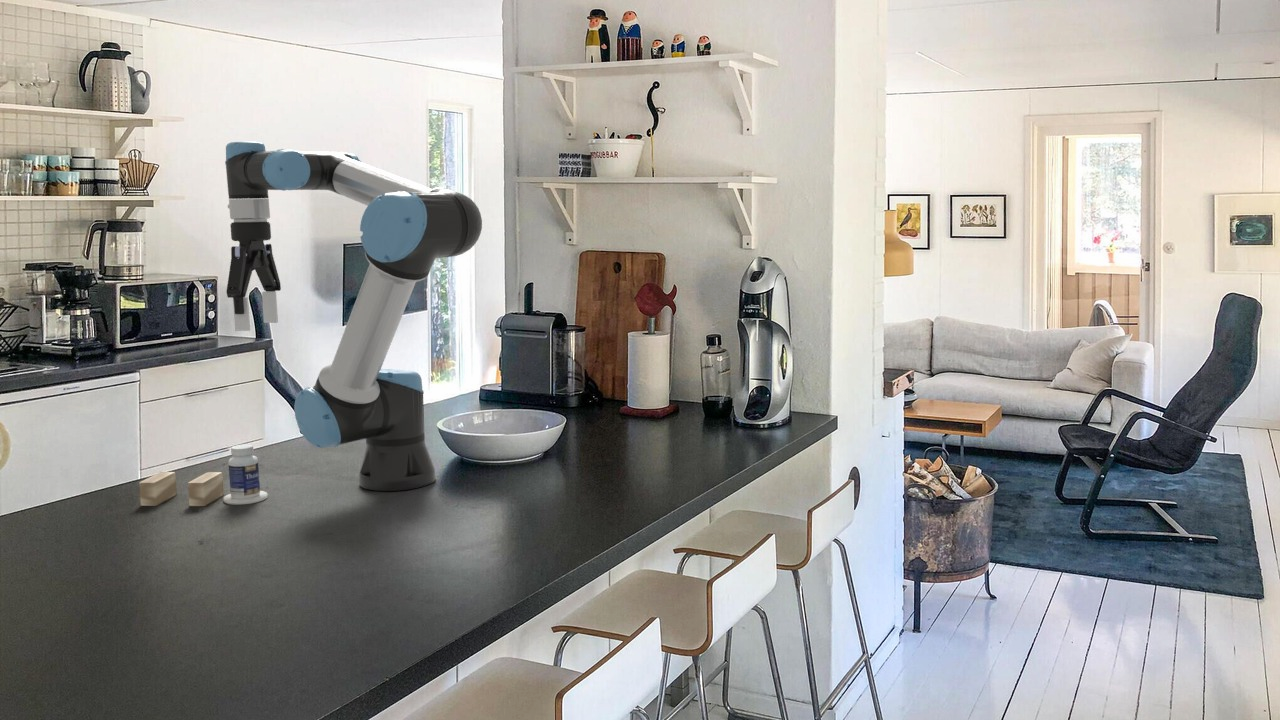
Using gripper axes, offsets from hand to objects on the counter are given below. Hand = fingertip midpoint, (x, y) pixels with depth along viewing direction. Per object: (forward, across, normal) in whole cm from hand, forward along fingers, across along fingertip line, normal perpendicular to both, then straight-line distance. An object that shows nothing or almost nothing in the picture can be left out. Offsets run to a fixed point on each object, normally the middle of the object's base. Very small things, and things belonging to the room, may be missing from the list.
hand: (257, 326), depth 218 cm
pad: (+32, +15, +2) cm, 35 cm away
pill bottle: (+31, +15, +2) cm, 35 cm away
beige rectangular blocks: (+32, +16, -10) cm, 37 cm away
